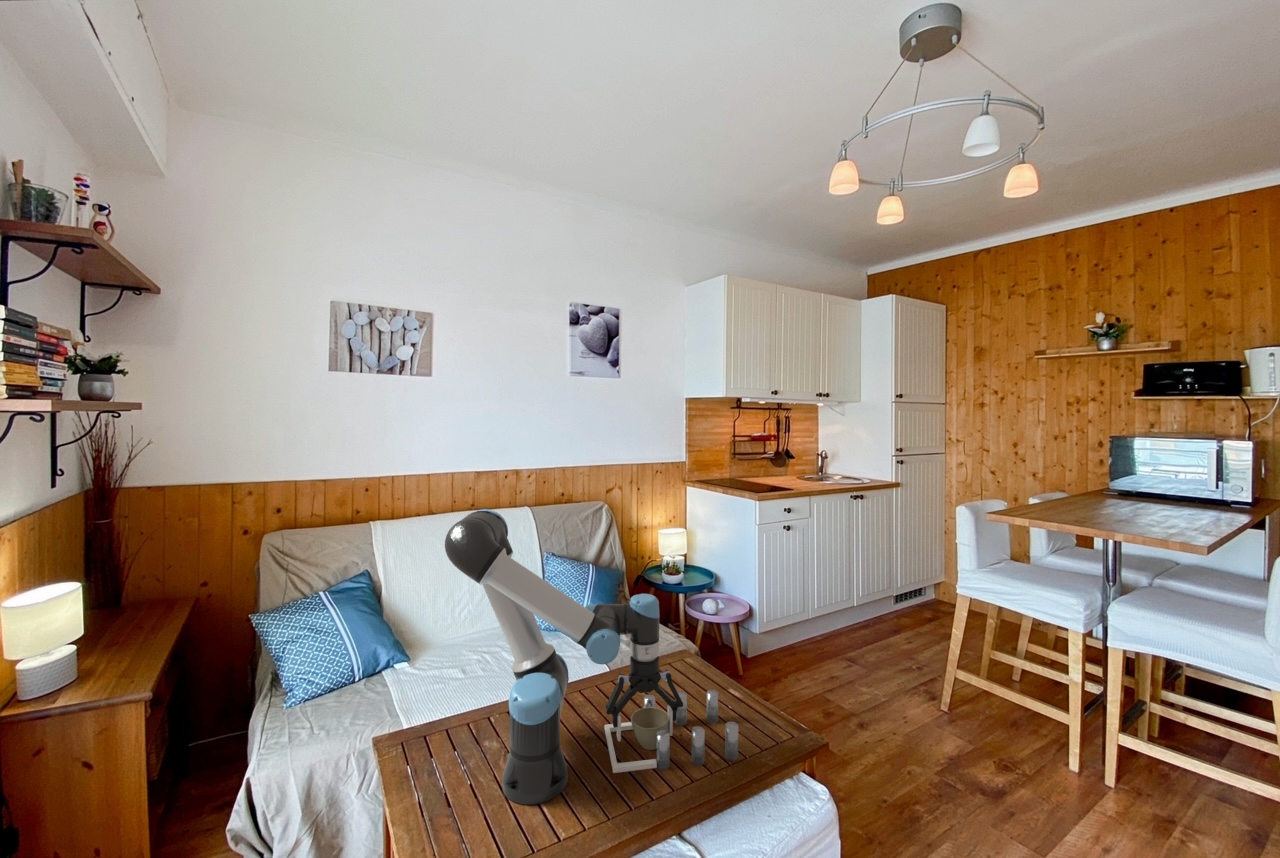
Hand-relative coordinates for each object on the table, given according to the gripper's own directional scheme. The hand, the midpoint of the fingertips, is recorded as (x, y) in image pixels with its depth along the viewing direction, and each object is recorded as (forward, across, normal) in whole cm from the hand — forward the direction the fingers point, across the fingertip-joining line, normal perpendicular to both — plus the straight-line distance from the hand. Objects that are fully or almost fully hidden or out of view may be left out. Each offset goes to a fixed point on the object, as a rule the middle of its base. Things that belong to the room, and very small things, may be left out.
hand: (644, 735), depth 141 cm
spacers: (+3, +12, 0) cm, 12 cm away
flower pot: (+3, +2, 0) cm, 3 cm away
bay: (+3, -4, 0) cm, 4 cm away
